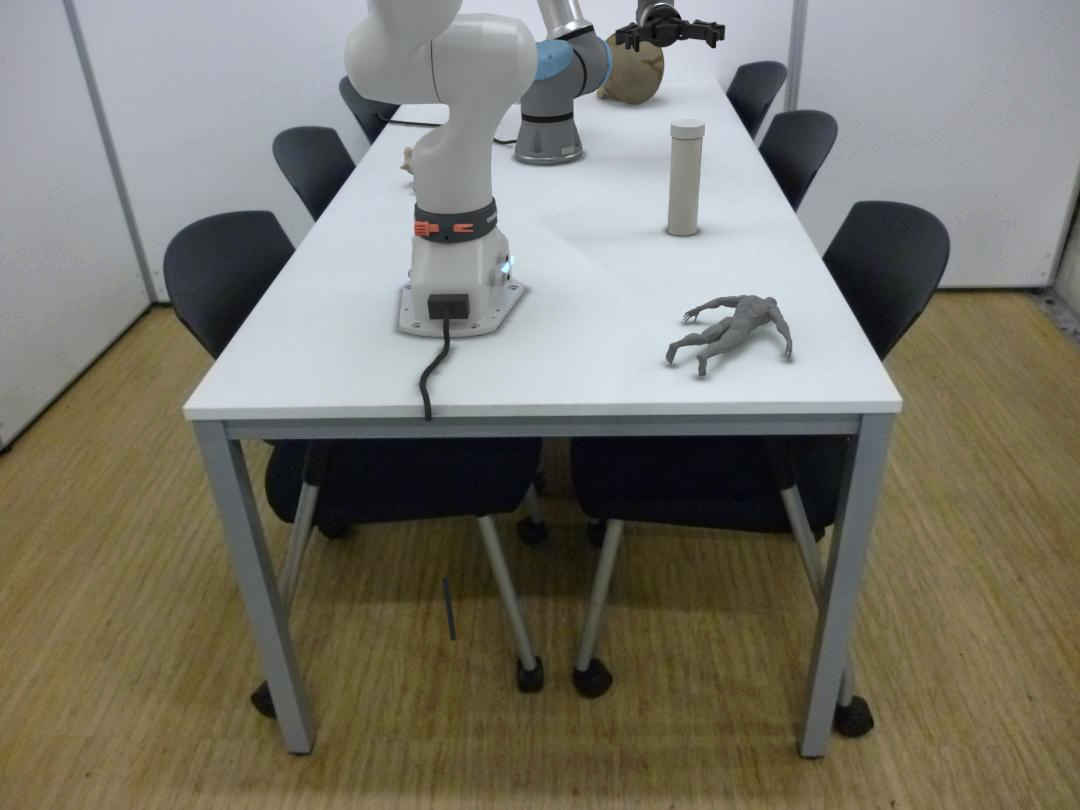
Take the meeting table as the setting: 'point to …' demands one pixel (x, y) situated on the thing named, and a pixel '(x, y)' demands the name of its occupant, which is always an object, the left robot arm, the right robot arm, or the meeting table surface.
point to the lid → (687, 128)
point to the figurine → (732, 326)
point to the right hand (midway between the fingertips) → (675, 42)
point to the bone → (408, 161)
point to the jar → (684, 186)
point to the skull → (633, 72)
